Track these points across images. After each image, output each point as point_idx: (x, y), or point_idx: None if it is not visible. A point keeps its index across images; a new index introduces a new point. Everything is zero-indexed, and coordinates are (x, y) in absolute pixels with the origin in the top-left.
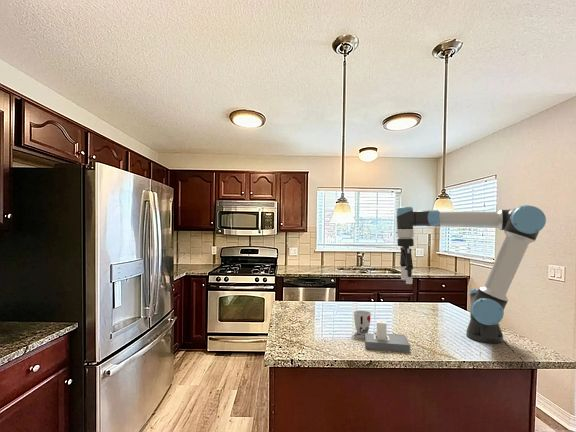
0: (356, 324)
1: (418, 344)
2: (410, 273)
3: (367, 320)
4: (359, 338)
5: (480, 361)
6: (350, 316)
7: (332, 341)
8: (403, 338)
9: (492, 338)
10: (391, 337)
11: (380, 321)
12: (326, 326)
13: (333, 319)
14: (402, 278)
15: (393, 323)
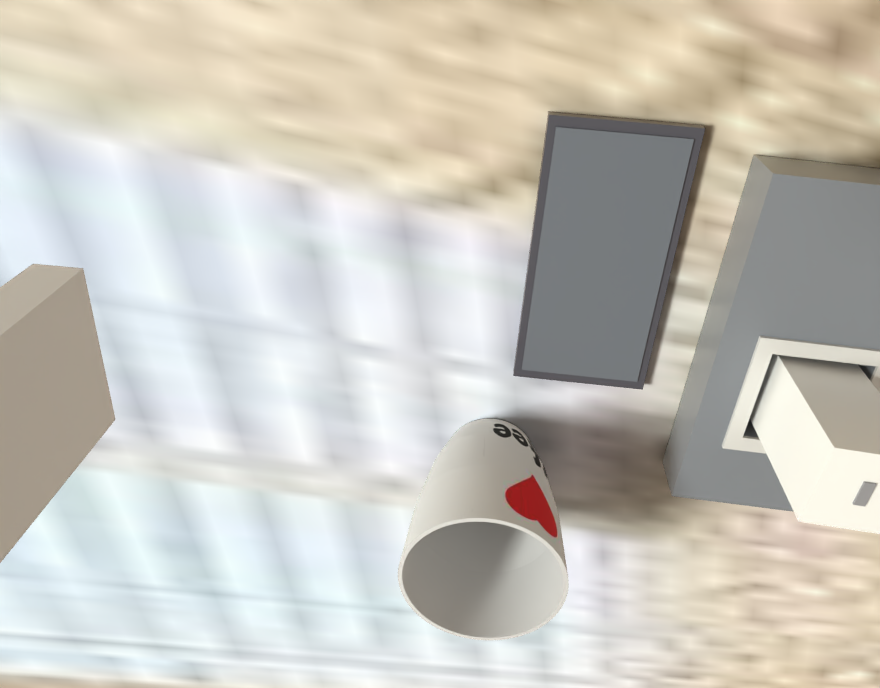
0: (521, 549)
1: (817, 32)
2: None
3: (552, 511)
4: (631, 491)
5: None
6: None
7: (696, 642)
8: (854, 215)
9: None
10: (808, 318)
11: (842, 497)
12: (363, 642)
13: (164, 589)
14: (93, 414)
15: (110, 123)
